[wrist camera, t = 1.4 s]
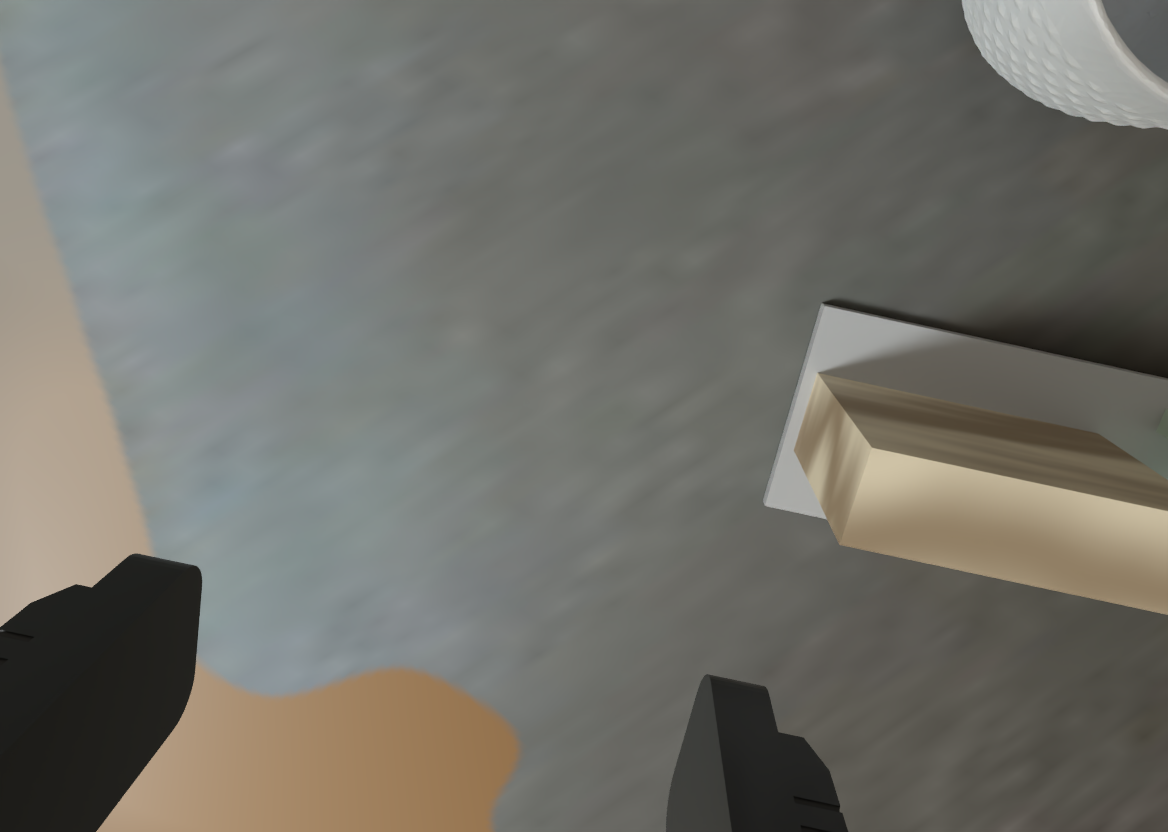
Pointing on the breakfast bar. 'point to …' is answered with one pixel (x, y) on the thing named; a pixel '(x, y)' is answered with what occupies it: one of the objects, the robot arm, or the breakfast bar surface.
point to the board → (969, 388)
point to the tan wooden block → (986, 493)
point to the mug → (1080, 54)
